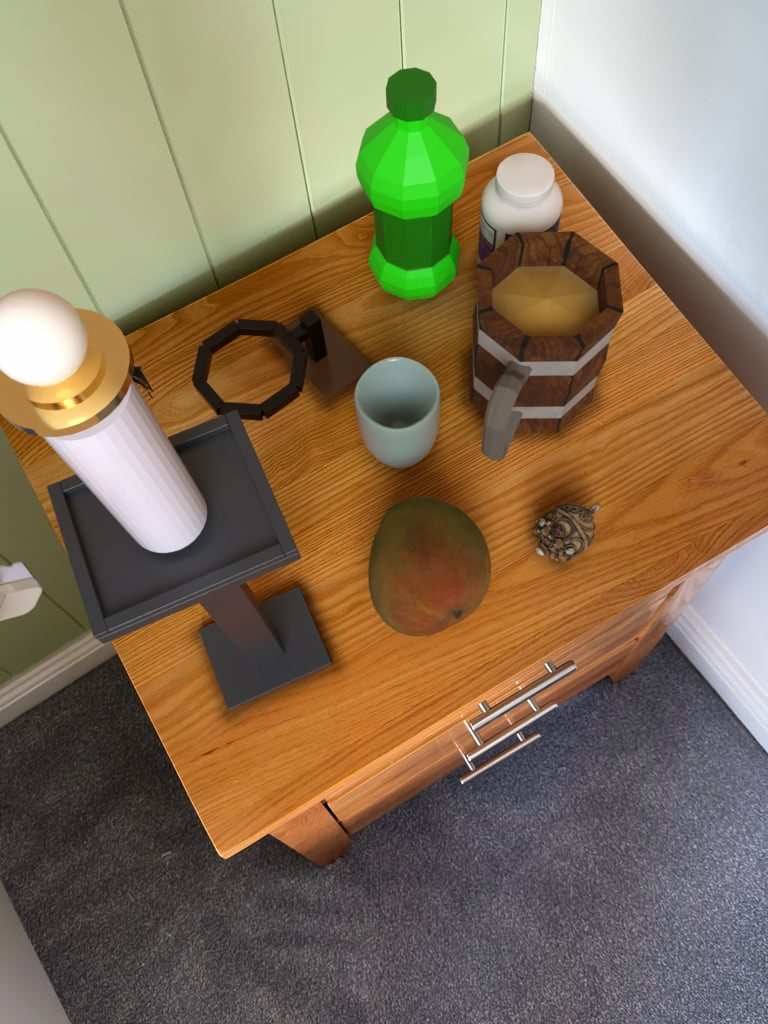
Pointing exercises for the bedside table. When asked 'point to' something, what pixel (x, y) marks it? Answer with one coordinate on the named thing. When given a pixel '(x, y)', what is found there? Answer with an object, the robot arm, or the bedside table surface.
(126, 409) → the perfume bottle
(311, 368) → the ring stand
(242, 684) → the pedestal tray stand
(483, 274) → the mug
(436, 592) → the fruit
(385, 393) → the cup
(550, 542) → the pendant
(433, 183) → the plastic bottle
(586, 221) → the bedside table surface
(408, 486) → the bedside table surface
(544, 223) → the pill bottle
